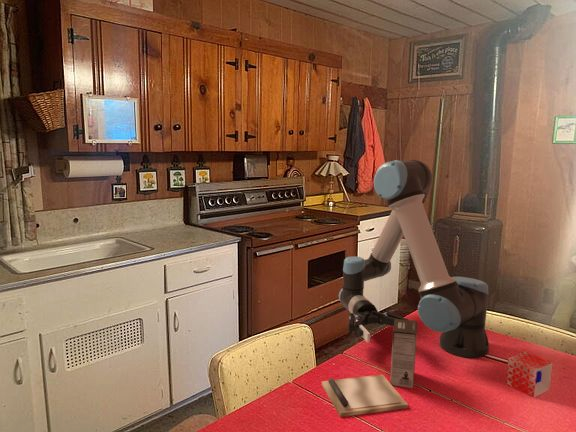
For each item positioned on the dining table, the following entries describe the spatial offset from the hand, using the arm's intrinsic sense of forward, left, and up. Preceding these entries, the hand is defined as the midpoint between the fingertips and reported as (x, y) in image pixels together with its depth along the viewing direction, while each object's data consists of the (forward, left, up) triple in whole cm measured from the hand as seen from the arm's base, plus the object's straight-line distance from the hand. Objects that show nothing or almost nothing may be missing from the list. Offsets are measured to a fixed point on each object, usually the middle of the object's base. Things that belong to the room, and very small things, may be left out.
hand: (390, 336), depth 136 cm
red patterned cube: (-32, +19, -9) cm, 39 cm away
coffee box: (0, +9, -9) cm, 13 cm away
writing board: (+14, +14, -9) cm, 22 cm away
